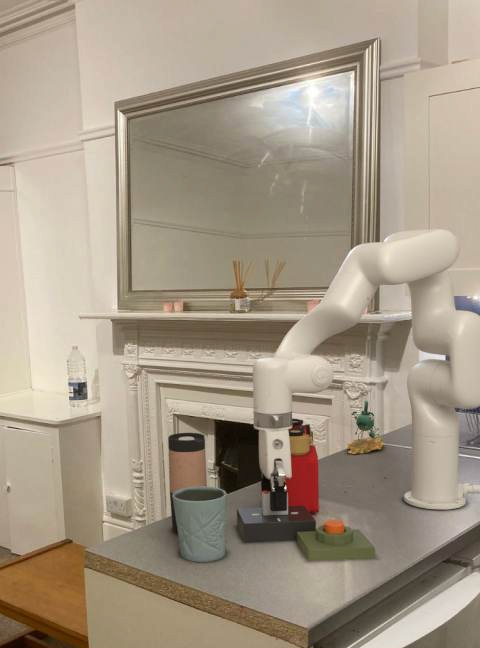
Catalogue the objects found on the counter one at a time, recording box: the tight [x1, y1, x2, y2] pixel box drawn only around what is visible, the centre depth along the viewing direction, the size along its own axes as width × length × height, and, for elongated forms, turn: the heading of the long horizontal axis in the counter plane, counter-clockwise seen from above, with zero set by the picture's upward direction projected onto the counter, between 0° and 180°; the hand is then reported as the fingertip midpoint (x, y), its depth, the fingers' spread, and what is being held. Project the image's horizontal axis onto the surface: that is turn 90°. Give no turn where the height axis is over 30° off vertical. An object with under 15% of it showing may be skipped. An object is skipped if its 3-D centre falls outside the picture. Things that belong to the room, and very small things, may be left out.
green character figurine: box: [346, 400, 385, 455], centre depth 229 cm, size 10×18×15 cm, turn 133°
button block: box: [296, 524, 376, 562], centre depth 153 cm, size 12×10×4 cm
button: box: [323, 519, 345, 534], centre depth 153 cm, size 4×4×2 cm
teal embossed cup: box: [172, 486, 228, 563], centre depth 154 cm, size 10×10×12 cm
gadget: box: [236, 506, 317, 544], centre depth 164 cm, size 14×10×4 cm
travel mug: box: [167, 432, 208, 535], centre depth 168 cm, size 8×8×20 cm
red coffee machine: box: [276, 417, 320, 514], centre depth 179 cm, size 16×10×20 cm, turn 168°
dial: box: [260, 491, 288, 516], centre depth 164 cm, size 5×2×5 cm, turn 88°
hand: (273, 503), depth 164 cm, fingers open, 9 cm apart
